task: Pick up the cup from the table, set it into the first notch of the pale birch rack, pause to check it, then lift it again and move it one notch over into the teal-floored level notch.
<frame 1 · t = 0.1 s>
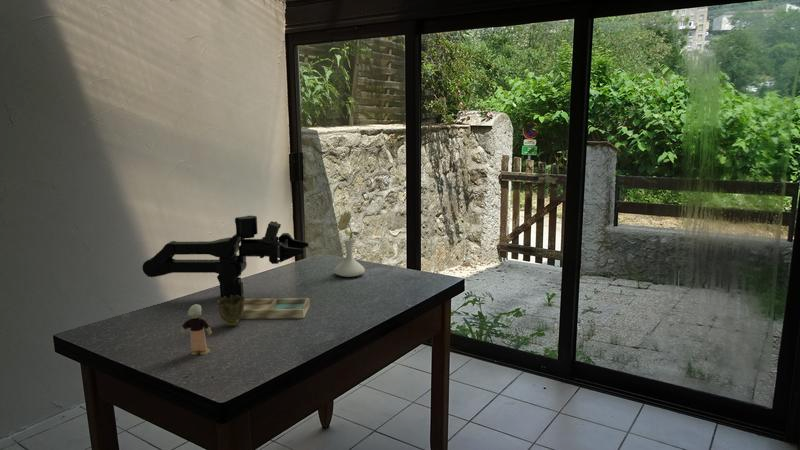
hand: (306, 247, 183), 17 cm above the table, tool horizontal, fingers open, 9 cm apart
grandmother figurine: (198, 353, 142), on the table
flower in vase: (349, 276, 211), on the table
cup: (232, 326, 161), on the table
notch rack: (272, 312, 171), on the table
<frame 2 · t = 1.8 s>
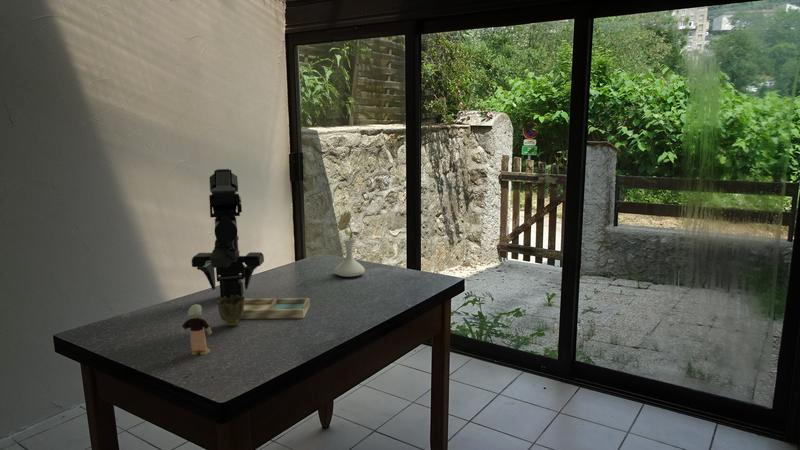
hand: (230, 289, 159), 11 cm above the table, tool pointing down, fingers open, 9 cm apart
nothing on the table moved.
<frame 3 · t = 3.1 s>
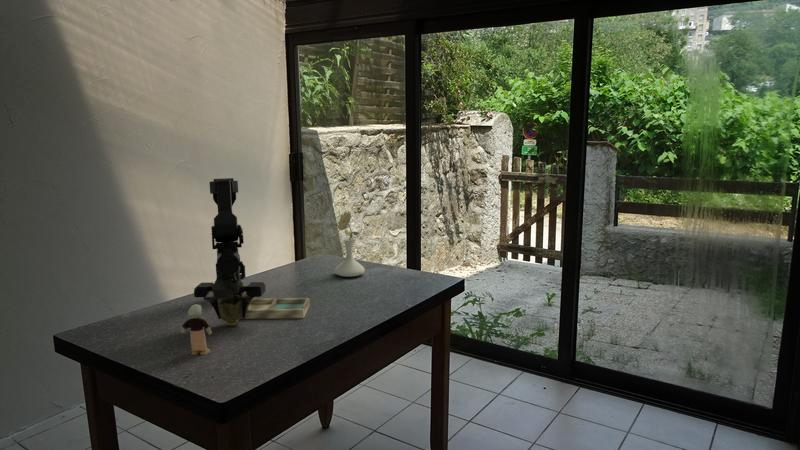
hand: (232, 318, 160), 2 cm above the table, tool pointing down, fingers closed on cup, 6 cm apart
cup: (232, 326, 161), on the table, touching gripper
everything else where it was.
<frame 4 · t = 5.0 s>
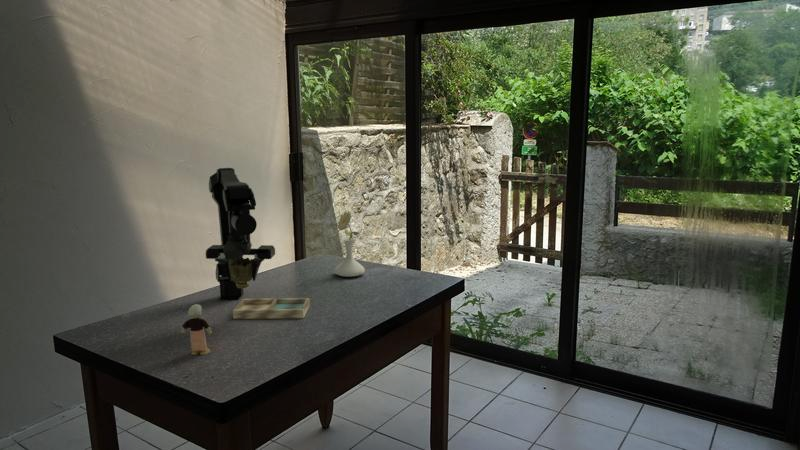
hand: (242, 280, 164), 12 cm above the table, tool pointing down, fingers closed on cup, 6 cm apart
cup: (242, 287, 165), point 9 cm above the table, touching gripper
everything else where it was.
when the fingers open (4 cm above the table, at t = 7.3 s): cup drops 1 cm, resting on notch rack.
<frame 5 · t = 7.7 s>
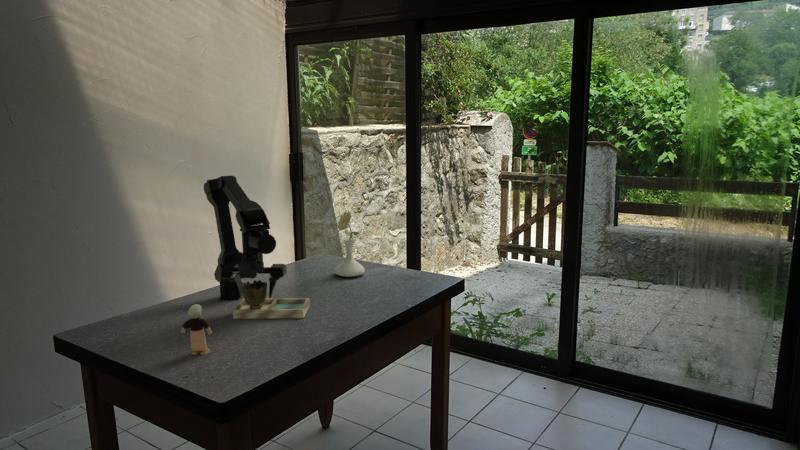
hand: (255, 298, 171), 4 cm above the table, tool pointing down, fingers open, 9 cm apart
cup: (256, 309, 171), point 1 cm above the table, touching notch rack
everything else where it was.
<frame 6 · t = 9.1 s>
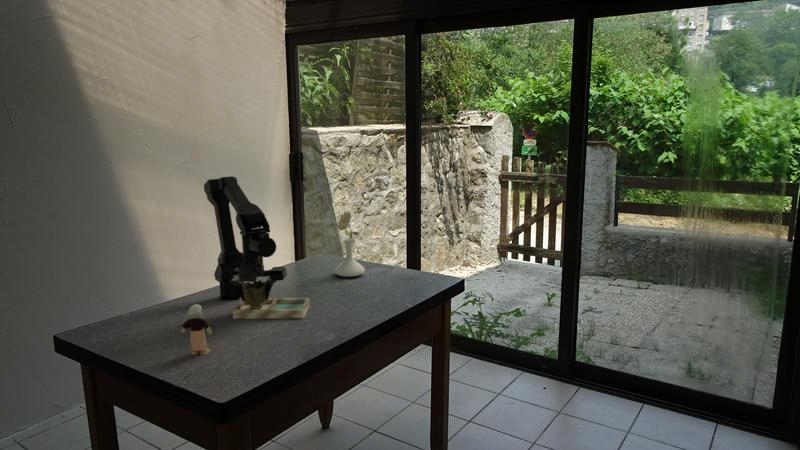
hand: (255, 301, 171), 4 cm above the table, tool pointing down, fingers closed on cup, 7 cm apart
cup: (256, 309, 171), point 1 cm above the table, touching gripper, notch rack
everything else where it was.
when the fingers open (5 cm above the table, at t = 13.6 s): cup stays where it is, resting on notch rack.
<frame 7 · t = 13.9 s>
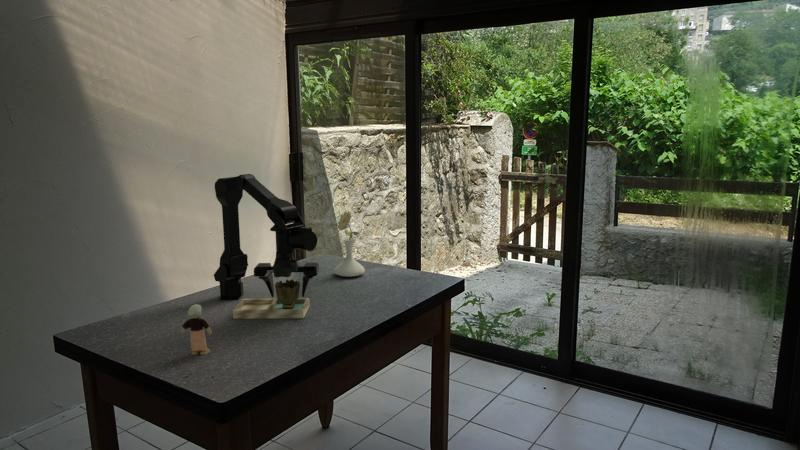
hand: (288, 296, 170), 5 cm above the table, tool pointing down, fingers open, 9 cm apart
cup: (288, 308, 171), point 1 cm above the table, touching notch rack
everything else where it was.
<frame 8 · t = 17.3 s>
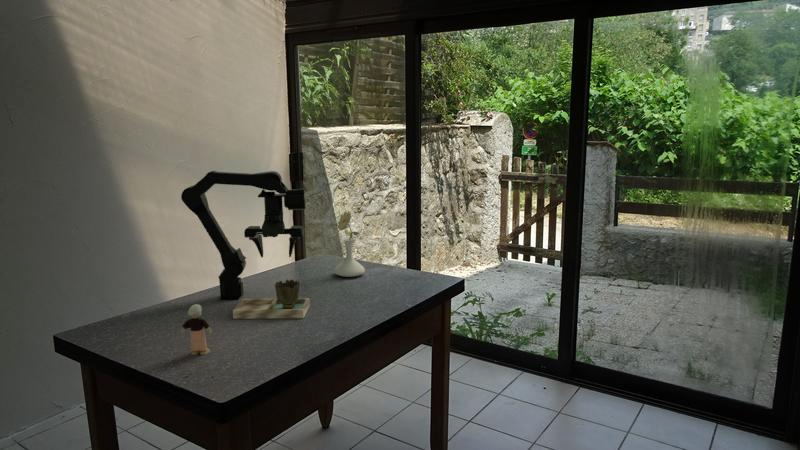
hand: (276, 257, 186), 13 cm above the table, tool pointing down, fingers open, 9 cm apart
nothing on the table moved.
at the end: cup 0.1 cm from the target spot on the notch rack, point 1.0 cm above the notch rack's base; cup tilted 0°; the gripper is holding nothing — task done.
